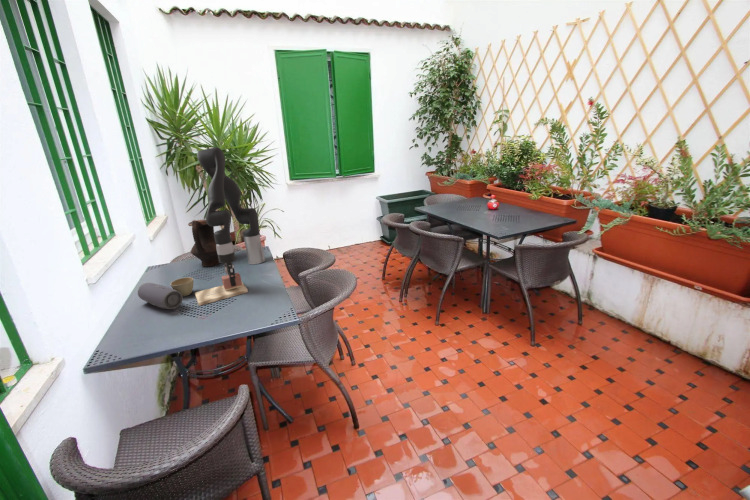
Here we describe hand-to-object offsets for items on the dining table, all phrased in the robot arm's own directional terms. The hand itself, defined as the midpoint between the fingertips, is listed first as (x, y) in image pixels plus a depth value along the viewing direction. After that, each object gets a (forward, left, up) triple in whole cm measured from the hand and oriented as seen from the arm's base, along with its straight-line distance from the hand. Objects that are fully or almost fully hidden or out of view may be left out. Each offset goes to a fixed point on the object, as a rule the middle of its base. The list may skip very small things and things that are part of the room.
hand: (232, 284), depth 169 cm
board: (+6, 0, -4) cm, 7 cm away
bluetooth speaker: (+31, -5, -4) cm, 31 cm away
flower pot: (+21, -12, -4) cm, 24 cm away
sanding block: (0, 0, -2) cm, 2 cm away
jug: (+4, -51, -4) cm, 51 cm away
